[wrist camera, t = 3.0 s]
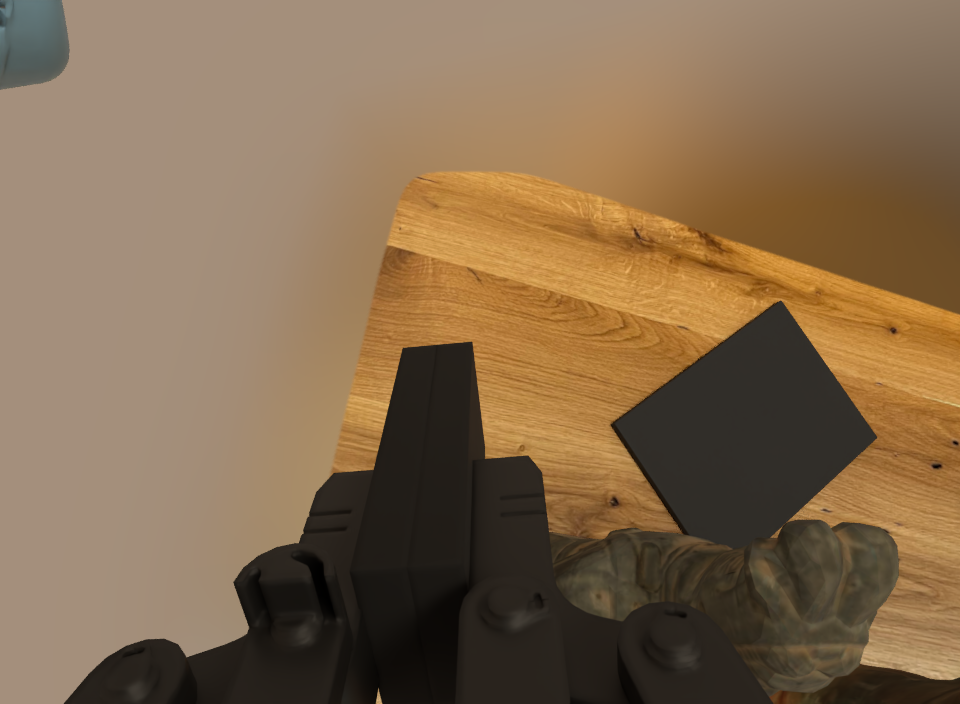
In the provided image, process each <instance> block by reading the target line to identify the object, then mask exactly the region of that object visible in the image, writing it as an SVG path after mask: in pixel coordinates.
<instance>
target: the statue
mask: <svg viewBox="0 0 960 704" xmlns="http://www.w3.org/2000/svg"><path fill="white" fill-rule="evenodd" d="M549 536H550V545H551V553H552V562H553V570H554V577H555V580H556V584H557V587H558V588H559V590H560V591H561V593H562V594H563V596H564V597H565V598H566V599H567V600H568V601H570V602H571V603H572V604H573V605H574V606H576V607H578V608H580V609H581V610H583V611H585V612H587V613H590V614H594V615H597V616H600V617H604V618H609V619H614V620H619V621H624V619H625V618H626V617H627V616H628V615H629V614H630V613H631V611H633V610H635V609H637V608H639V607H641V606H644V605H646V604H648V603H655V602H665V601H670V602H675V603H680V604H685V605H690V606H691V607H693V608H695V609H697V610H699V611H701V612H703V613H705V614H707V615H708V616H709V617H710V618H711V619H712V620H713V621H714V622H715V623H716V624H717V625H718V626H719V627H720V628H721V629H722V630H723V631H724V633H725V634H726V636H727V637H728V639H729V640H730V641H731V643H732V644H733V646H734V647H735V649H736V650H737V652H738V653H739V654H740V656H741V657H742V659H743V660H744V662H745V663H746V664H747V666H748V667H749V669H750V670H751V672H752V673H753V675H754V676H755V677H756V679H757V680H758V682H759V683H760V685H761V686H762V688H763V689H764V690H765V692H766V693H767V695H768V696H769V697H770V696H772V695H774V694H775V693H777V692H778V691H780V690H782V691H791V692H802V693H814V692H816V691H818V690H820V689H822V688H824V687H826V686H828V685H829V684H830V683H831V682H832V680H833V679H834V678H835V677H840V676H846V675H849V674H850V673H851V672H852V671H854V670H855V669H856V668H857V667H858V666H859V665H860V661H861V657H862V653H863V650H864V648H865V646H866V645H867V643H868V640H869V628H870V626H871V624H872V622H873V620H874V618H875V616H876V614H877V610H878V609H879V608H880V607H881V606H882V605H883V603H884V602H885V601H886V600H887V598H888V596H889V595H890V593H891V592H892V590H893V588H894V587H895V584H896V582H897V579H898V576H899V559H898V550H897V545H896V543H895V541H894V540H893V538H892V537H891V536H890V535H889V534H887V533H886V532H885V531H884V530H883V529H881V528H880V527H875V526H871V525H866V524H860V523H847V522H842V523H840V524H838V525H836V526H834V527H832V528H830V526H829V525H828V524H827V523H825V522H824V521H822V520H794V521H790V522H787V523H786V524H785V525H784V526H783V527H782V529H781V531H780V533H779V535H778V538H764V537H757V538H755V539H753V540H752V541H751V542H750V544H749V545H748V546H743V547H740V548H736V549H732V548H730V547H728V546H727V545H721V544H716V543H714V542H712V541H710V540H706V539H703V538H698V537H693V536H688V535H683V534H678V533H666V532H650V531H642V530H640V529H638V528H627V529H620V530H615V531H611V532H610V533H609V534H608V536H607V537H606V538H605V539H603V540H601V539H591V538H589V539H586V538H581V537H577V536H572V535H566V534H560V533H554V532H549Z"/></svg>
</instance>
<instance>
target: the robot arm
mask: <svg viewBox="0 0 960 704" xmlns="http://www.w3.org/2000/svg"><path fill="white" fill-rule="evenodd" d="M68 59H69V41H68V33H67V27H66V21H65V16H64V10H63V5H62V0H0V89H7V88H13V87H20V86H26V85H32V84H39V83H44V82H47V81H50V80H52V79H54V78H56V77H57V76H59V75H60V74H61V73H62V71H63V70H64V69H65V67H66V65H67V63H68ZM303 531H304V534H302V535H301V538H300V541H299V544H298V543H295V544H290V545H285V546H280V547H276V548H274V549H272V550H270V551H268V552H265V553H263V554H261V555H260V556H258V557H256V558H255V559H254V560H253V561H251V562H250V563H249V564H248V565H246V566H245V567H244V568H243V569H242V571H241V572H240V573H239V575H238V577H237V578H236V579H235V581H234V586H235V589H236V591H237V594H238V597H239V600H240V603H241V606H242V609H243V611H244V614H245V617H246V620H247V623H248V626H249V630H248V633H247V634H246V635H245V636H243V637H241V638H239V639H237V640H235V641H232V642H230V643H228V644H225V645H223V646H220V647H216V648H213V649H211V650H208V651H205V652H202V653H199V654H196V655H193V656H190V657H187V658H186V656H185V654H184V653H183V651H182V650H181V648H180V647H179V645H178V644H176V643H173V642H171V641H168V640H166V639H148V640H143V641H140V642H137V643H134V644H131V645H128V646H125V647H124V648H122V649H120V650H119V651H117V652H115V653H113V654H112V655H110V656H108V657H107V658H106V659H104V661H102V662H101V663H100V664H99V665H98V666H97V667H96V668H95V669H94V670H93V671H92V672H90V673H89V674H88V676H87V677H86V678H85V679H84V681H83V682H82V683H81V684H80V685H79V686H78V687H77V689H76V690H75V691H74V692H73V694H72V695H71V696H70V697H69V698H68V699H67V700H66V702H65V703H64V704H376V699H377V692H378V688H379V692H380V696H381V700H382V704H774V703H773V702H772V701H771V699H770V698H769V696H768V695H767V693H766V692H765V690H764V689H763V688H762V686H761V685H760V683H759V682H758V680H757V679H756V677H755V676H754V675H753V673H752V672H751V670H750V669H749V667H748V666H747V664H746V663H745V662H744V660H743V659H742V657H741V656H740V654H739V653H738V652H737V650H736V649H735V647H734V646H733V644H732V643H731V641H730V640H729V639H728V637H727V636H726V634H725V633H724V631H723V630H722V629H721V628H720V627H719V626H718V625H717V624H716V623H715V622H714V621H713V620H712V619H711V618H710V617H709V616H708V615H707V614H705V613H703V612H701V611H699V610H697V609H695V608H693V607H691V606H690V605H685V604H680V603H675V602H670V601H665V602H655V603H648V604H646V605H644V606H641V607H639V608H637V609H635V610H633V611H631V613H630V614H629V615H628V616H627V617H626V618H625V619H624V621H619V620H614V619H609V618H604V617H600V616H597V615H594V614H590V613H587V612H585V611H583V610H581V609H580V608H578V607H576V606H574V605H573V604H572V603H571V602H570V601H568V600H567V599H566V598H565V597H564V596H563V594H562V593H561V591H560V590H559V588H558V587H557V584H556V580H555V577H554V570H553V562H552V553H551V545H550V536H549V528H548V520H547V512H546V503H545V495H544V486H543V477H542V472H541V471H540V469H539V468H538V467H537V466H536V464H535V463H534V462H533V461H532V460H531V458H530V457H529V456H517V457H505V458H492V459H485V444H484V435H483V427H482V419H481V410H480V402H479V394H478V386H477V377H476V369H475V361H474V352H473V344H472V342H464V343H453V344H442V345H431V346H419V347H408V348H403V349H402V354H401V358H400V362H399V366H398V370H397V375H396V379H395V383H394V387H393V391H392V395H391V400H390V404H389V408H388V412H387V416H386V421H385V425H384V429H383V433H382V437H381V442H380V446H379V450H378V454H377V458H376V462H375V467H374V470H367V471H355V472H342V473H334V474H333V475H332V476H331V477H330V478H329V479H328V480H327V481H326V482H325V483H324V484H323V486H322V487H321V488H320V489H319V490H318V491H317V492H316V495H315V498H314V500H313V503H312V506H311V509H310V512H309V517H308V518H307V521H306V524H305V527H304V530H303Z"/></svg>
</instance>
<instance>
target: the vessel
mask: <svg viewBox="0 0 960 704" xmlns="http://www.w3.org/2000/svg"><path fill="white" fill-rule="evenodd" d="M769 698H770V699H771V701H772V702H773V703H774V704H960V678H957V679H954V680H934V679H929V678H926V677H923V676H921V675H917V674H913V673H909V672H906V671H902V670H896V669H890V668H882V667H874V666H867V665H862V664H860V665H859V666H858V667H857V668H856V669H855V670H854V671H852V672H851V673H850V674H849V675H846V676H840V677H835V678H834V679H833V680H832V682H831V683H830V684H829V685H828V686H826V687H824V688H822V689H820V690H818V691H816V692H814V693H802V692H791V691H782V690H780V691H778V692H777V693H775V694H774V695H772V696H770V697H769Z"/></svg>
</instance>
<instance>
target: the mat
mask: <svg viewBox="0 0 960 704" xmlns="http://www.w3.org/2000/svg"><path fill="white" fill-rule="evenodd" d="M611 425H612V427H613V428H614V430H615V431H616V433H617V434H618V436H619V437H620V439H621V440H622V442H623V443H624V445H625V446H626V448H627V449H628V451H629V452H630V454H631V455H632V457H633V458H634V460H635V461H636V463H637V464H638V466H639V467H640V469H641V470H642V472H643V473H644V475H645V476H646V478H647V479H648V480H649V482H650V483H651V485H652V486H653V488H654V489H655V491H656V492H657V494H658V495H659V497H660V498H661V500H662V501H663V503H664V504H665V506H666V507H667V509H668V510H669V512H670V513H671V515H672V516H673V518H674V519H675V521H676V522H677V524H678V525H679V527H680V528H681V530H682V531H683V533H684V534H685V535H688V536H693V537H698V538H703V539H706V540H710V541H712V542H714V543H716V544H721V545H727V546H728V547H730V548H732V549H736V548H740V547H743V546H748V545H749V544H750V542H751V541H752V540H753V539H755V538H757V537H764V538H770V537H771V536H772V535H773V534H774V533H775V532H776V531H778V530H779V529H780V528H781V527H782V526H783V525H784V524H785V523H786V522H787V521H788V520H789V519H790V518H792V517H793V516H794V515H795V514H796V513H797V512H798V511H799V510H800V509H801V508H802V507H803V506H804V505H806V504H807V503H808V502H809V501H810V500H811V499H812V498H813V497H814V496H815V495H816V494H817V493H818V492H819V491H821V490H822V489H823V488H824V487H825V486H826V485H827V484H828V483H829V482H830V481H831V480H832V479H833V478H835V477H836V476H837V475H838V474H839V473H840V472H841V471H842V470H843V469H844V468H845V467H846V466H847V465H849V464H850V463H851V462H852V461H853V460H854V459H855V458H856V457H857V456H858V455H859V454H860V453H861V452H863V451H864V450H865V449H866V448H867V447H868V446H869V445H870V444H871V443H872V442H873V441H874V440H875V439H877V436H876V435H875V433H874V432H873V431H872V429H871V428H870V426H869V425H868V423H867V422H866V421H865V419H864V418H863V416H862V415H861V413H860V412H859V411H858V409H857V408H856V406H855V405H854V403H853V402H852V401H851V399H850V398H849V396H848V395H847V393H846V392H845V391H844V389H843V388H842V386H841V385H840V383H839V382H838V381H837V379H836V378H835V376H834V375H833V373H832V372H831V371H830V369H829V368H828V366H827V365H826V363H825V362H824V361H823V359H822V358H821V356H820V355H819V353H818V352H817V351H816V349H815V348H814V346H813V345H812V344H811V342H810V341H809V339H808V338H807V336H806V335H805V334H804V332H803V331H802V329H801V328H800V326H799V325H798V324H797V322H796V321H795V319H794V318H793V316H792V315H791V314H790V312H789V311H788V309H787V308H786V306H785V305H784V304H783V302H782V301H779V302H777V303H776V304H774V305H773V306H771V307H770V308H769V309H767V310H766V311H765V312H763V313H762V314H761V315H759V316H758V317H757V318H755V319H754V320H752V321H751V322H750V323H748V324H747V325H746V326H744V327H743V328H742V329H740V330H739V331H737V332H736V333H735V334H733V335H732V336H731V337H729V338H728V339H727V340H725V341H724V342H722V343H721V344H720V345H718V346H717V347H716V348H714V349H713V350H712V351H710V352H709V353H708V354H706V355H705V356H703V357H702V358H701V359H699V360H698V361H697V362H695V363H694V364H693V365H691V366H690V367H688V368H687V369H686V370H684V371H683V372H682V373H680V374H679V375H678V376H676V377H675V378H673V379H672V380H671V381H669V382H668V383H667V384H665V385H664V386H663V387H661V388H660V389H659V390H657V391H656V392H654V393H653V394H652V395H650V396H649V397H648V398H646V399H645V400H644V401H642V402H641V403H639V404H638V405H637V406H635V407H634V408H633V409H631V410H630V411H629V412H627V413H626V414H624V415H623V416H622V417H620V418H619V419H618V420H616V421H615V422H614V423H612V424H611Z"/></svg>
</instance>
